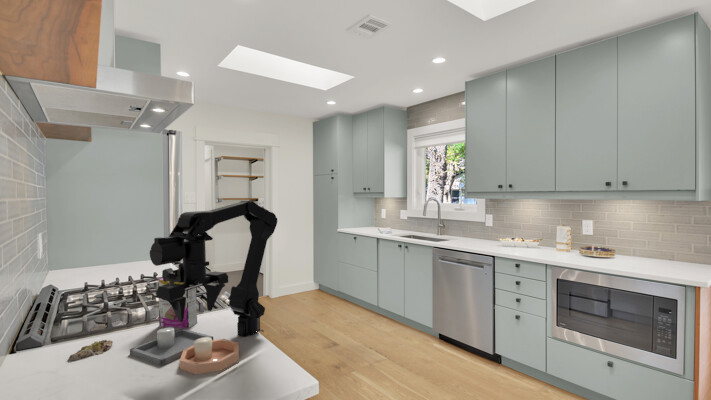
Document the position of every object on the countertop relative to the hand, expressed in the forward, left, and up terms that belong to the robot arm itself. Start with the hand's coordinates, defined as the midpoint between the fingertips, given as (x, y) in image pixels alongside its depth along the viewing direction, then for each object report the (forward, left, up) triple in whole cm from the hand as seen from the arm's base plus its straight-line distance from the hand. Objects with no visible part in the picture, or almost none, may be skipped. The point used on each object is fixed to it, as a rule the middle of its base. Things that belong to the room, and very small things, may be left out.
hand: (195, 315), depth 96 cm
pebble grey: (0, -13, -11) cm, 17 cm away
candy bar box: (-12, -25, -12) cm, 30 cm away
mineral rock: (+12, -29, -12) cm, 33 cm away
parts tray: (0, -10, -12) cm, 15 cm away
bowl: (0, +5, -12) cm, 13 cm away
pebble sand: (0, +3, -11) cm, 11 cm away
